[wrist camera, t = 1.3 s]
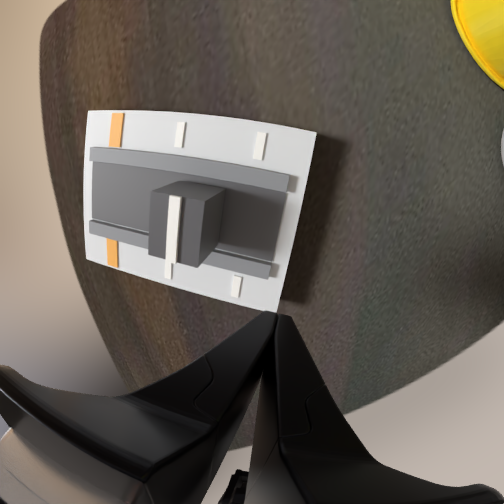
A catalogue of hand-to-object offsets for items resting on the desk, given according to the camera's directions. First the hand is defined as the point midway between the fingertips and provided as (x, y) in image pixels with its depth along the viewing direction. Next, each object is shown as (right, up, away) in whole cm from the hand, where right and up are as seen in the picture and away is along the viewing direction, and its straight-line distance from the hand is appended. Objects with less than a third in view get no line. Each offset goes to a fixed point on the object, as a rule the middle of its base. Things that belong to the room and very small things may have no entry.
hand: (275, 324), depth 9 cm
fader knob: (-4, +5, +9) cm, 11 cm away
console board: (-5, +6, +11) cm, 14 cm away
